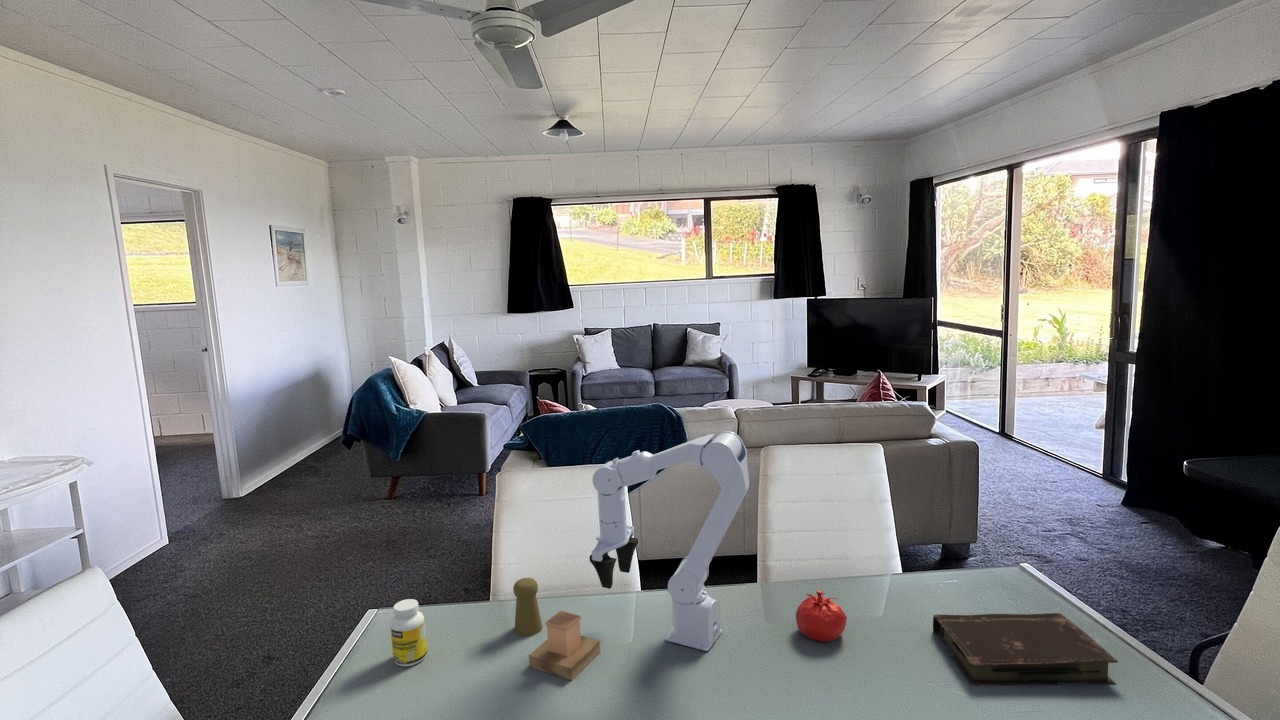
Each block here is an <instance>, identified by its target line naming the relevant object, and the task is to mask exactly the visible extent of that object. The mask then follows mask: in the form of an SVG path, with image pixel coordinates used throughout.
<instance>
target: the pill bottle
mask: <svg viewBox="0 0 1280 720" xmlns="http://www.w3.org/2000/svg"><path fill="white" fill-rule="evenodd" d="M393 615H394V616H393V617H392V619H391V620H390V623H389V624H390V627H389V628H390V636H391V638H390V639H391V649H392V657H393V662H394V663H395V664H396V665H397V666H399V667H410V666H412V667H413V666H415V665H417V664H419V663H421V662H422V661H423V660H424V659H425V658H426V657H427V654H428V648H427V647H428V645H427V635H426V623H425V616H424V614H423V613H422V612H421V611H420V610H419V602H418V600H416V599H414V598H407V599H403V600H399V601H398V602H396V603H395V604H394V605H393Z"/></svg>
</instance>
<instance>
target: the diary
mask: <svg viewBox="0 0 1280 720" xmlns="http://www.w3.org/2000/svg"><path fill="white" fill-rule="evenodd" d="M932 632H933V633H932V634H940V635H941V636H940V638H941V639H943V641H944V643H945V644H946V645H947V647H948V648H949V650H950V651H951V653H952V654H950V655H949V656H950V657H951V660H952V661H953V662H954V663H955V665H956V666H957V668H958V669H959V671H960V673H961V674H962V675H963V676H964V678H965V680H967V681H968V683H970V684H971V685H974V686H986V687H987V686H988V687H990V686H993V687H995V686H996V687H997V686H998V687H999V686H1002V687H1003V686H1004V687H1005V686H1009V687H1010V686H1013V687H1014V686H1015V687H1016V686H1038V685H1039V686H1041V685H1042V686H1043V685H1044V686H1066V684H1081V685H1082V684H1083V685H1091V686H1092V685H1094V686H1096V685H1097V686H1098V685H1100V686H1101V685H1102V686H1103V685H1104V686H1105V685H1106V686H1112V685H1113V686H1116V685H1118V684H1117V683H1116V682H1115V681H1114V680H1113V679H1112V678H1111V677H1110V676H1109V664H1110V663H1111V664H1112V663H1119V661H1118V660H1117V659H1116V658H1115V657H1114V656H1112V655H1111V653H1109V652H1108V651H1107V650H1106V649H1105V648H1104V647H1102V646H1101V645H1100V644H1099V643H1098V642H1097V641H1096V640H1094V639H1093V638H1092V637H1090V635H1088V633H1087V632H1085V631H1084V630H1082V629H1081V628H1080V627H1078V626H1077V625H1076V624H1075V623H1074V622H1073V621H1071V620H1070V619H1069V618H1067V617H1066V616H1065V615H1064V614H1062V613H1061V612H1054V613H1053V612H1052V613H1051V612H1050V613H1047V612H1045V613H1030V614H1029V613H1027V614H1025V613H1024V614H1022V613H1020V614H1019V613H984V614H966V615H965V614H933V616H932Z"/></svg>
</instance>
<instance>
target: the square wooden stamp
mask: <svg viewBox="0 0 1280 720" xmlns="http://www.w3.org/2000/svg"><path fill="white" fill-rule="evenodd" d="M581 619H582V616H581V615H579V614H575V613H571V612H567V611H564V610H559V611H558V612H557V613H555V614H553V616H551V617H550V618H549V619H548V620H547V621H545V622H544V624H545V625H544V626H546V634H547V639H548V651H551V652H554V653H557V654H560V655H563V656H567V657H568V656H569V655H570V654H571V653H572V652H573V651H574V650H576V649H577V648H578V647H579V646H580V645H581V636H582V635H581Z"/></svg>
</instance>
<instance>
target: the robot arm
mask: <svg viewBox="0 0 1280 720" xmlns="http://www.w3.org/2000/svg"><path fill="white" fill-rule="evenodd" d="M640 451H641V450H640V449H638V450H635V451H633V452H632V453H631V455H630V456H626V457H624V458H620V459H619V457H616V458H614V459H612V460H609V461H607V462H606V463H604V464H603V465H602V466H600V467H599V468H598V469H597V470H595V472H594V473H593V475H592V485H593V488H594V489H595V490H596V491H597V502H598V503H597V504H598V505H597V506H598V519H599V520H598V522H599V534H598V535H597V536H596V537H595V539H596V541H598V542H597V543H596V546H595V547H594V549H592V550H591V554H590V555H589V562H590V564H592V566H593V568H594V569H595V571H596V573H597V575H598V579H599V581H600V584H601V588H606V589H608V590H610V589H611V588H612V587H613V582H614V581H613V579H614V578H613V577H614V568H615V565H616V562H618V568H619V569H618V570H619V572H621V573H627V574H629V573H630V571H631V566H632V561H633V556H634V553H635V550H636V547H637V545H638V544H639V539H638V538H637V537H634V536H635V526H633V525H627V523H628V522H627V509H626V508H627V507H626V493H625V491H626V490H625V488H626V487H630V486H632V485H636V484H638V483H642V482H644V481H645V482H646V481H648V480H651V479H654V478H655V477H656V475H657V472H658V471H660V470H663V469H667V468H670V467H674V466H678V465H682V464H685V463H689V462H690V463H692V464H693V465H695V466H697V467H699V468H702V467H703V466H704V468H705V469H706V470H707V471H708V472H709V473H710V475H711V476H712V477H713V478H714V479H715V480H716V481H717V483H718V485H719V487H720V489H721V490H720V492H719V494H718V495H717V498H716V499H715V502H714V504H713V506H712V508H711V510H710V512H709V514H708V515H707V517H706V520H705V522H704V523H703V525H702V528H701V530H700V531H699V533H698V535H697V537H696V539H695V541H694V543H693V544H692V547H691V549H690V551H689V553H688V555H687V556H685V557H684V558H682V560H681V562H680V563H679V565H678V568H677V569H676V571H675V572H674V574H673V575H672V576H671V577H670V578H669V580H668V583H667V590H668V591H667V592H668V594H669V595H670V597H671V607H672V609H671V611H672V629H671V631H670V632H669V634H667V636H666V637H665V640H666V642H670V643H674V644H679V645H683V646H686V647H690V648H693V649H698V650H701V651H705V652H708V651H709V650H710V649H711V647H712V646H714V645H713V644H714V643H715V642H716V641H717V640H718V638H719V637H720V635H721V634H722V633H723V629H721V607H720V603H719V600H716V599H715V598H713V597H711V596H709V595H708V592H707V589H706V587H705V582H706V581H707V579H708V577H709V573H710V572H709V566H710V563H711V562H712V560H713V557H714V556H715V553H716V552H717V549H718V548H719V546H720V544H721V543H722V540H723V538H724V536H725V534H726V533H727V531H728V529H729V527H730V525H731V523H732V521H733V519H734V517H735V516H736V513H737V511H738V510H739V508H740V506H741V504H742V502H743V500H744V498H745V497H746V494H747V493H748V491H749V488H750V477H749V469H748V450H747V448H746V446H745V444H744V441H743V440H742V438H741V437H740V436H739V435H738V434H737V433H736V432H734V431H730V430H723V431H720V432H719V433H717V434H716V435H715V433H713V434H712V433H711V434H710V433H709V434H706V435H704V436H700V437H698V438H695V439H692V440H688V441H686V442H684V443H681V444H678V445H675V446H673V447H671V448H667V449H666V450H663V451H660V452H658V453H654V454H653V453H651V452H649V451H645V450H644V451H641V452H640ZM611 551H615V552H616V557H617V558H616V557H615V558H614V557H610V555H609V553H611Z"/></svg>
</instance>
